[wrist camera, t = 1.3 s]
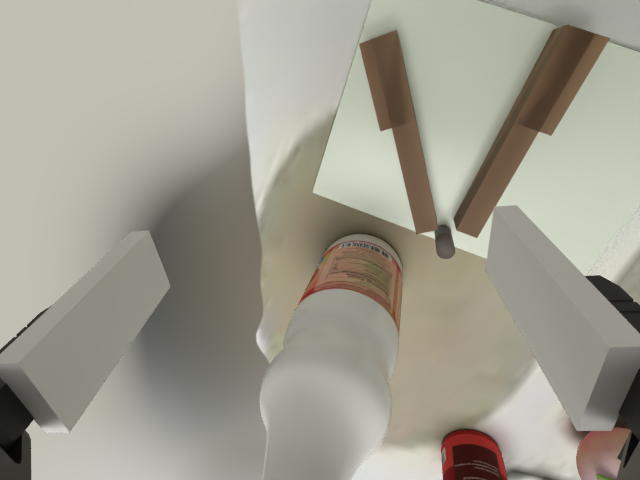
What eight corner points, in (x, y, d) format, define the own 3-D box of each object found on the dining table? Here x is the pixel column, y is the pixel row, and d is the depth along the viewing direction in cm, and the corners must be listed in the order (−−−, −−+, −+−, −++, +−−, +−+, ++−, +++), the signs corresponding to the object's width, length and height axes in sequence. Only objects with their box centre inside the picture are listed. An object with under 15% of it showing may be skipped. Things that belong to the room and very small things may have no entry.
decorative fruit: (673, 421, 41) (744, 518, 32) (628, 463, 44) (681, 561, 35) (586, 392, 42) (632, 478, 33) (550, 436, 45) (582, 523, 37)
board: (726, 82, 28) (736, 83, 27) (568, 286, 37) (572, 291, 36) (382, -28, 30) (381, -32, 29) (314, 189, 39) (312, 192, 38)
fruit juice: (414, 293, 42) (412, 615, 17) (340, 310, 45) (247, 598, 20) (386, 220, 39) (334, 479, 14) (309, 244, 42) (159, 486, 18)
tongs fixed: (591, 41, 28) (619, 36, 24) (470, 250, 37) (476, 271, 33) (539, 24, 28) (559, 17, 24) (431, 236, 37) (433, 254, 33)
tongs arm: (398, 33, 30) (396, 29, 28) (436, 218, 36) (438, 230, 34) (363, 46, 31) (358, 43, 29) (406, 224, 37) (405, 236, 34)
